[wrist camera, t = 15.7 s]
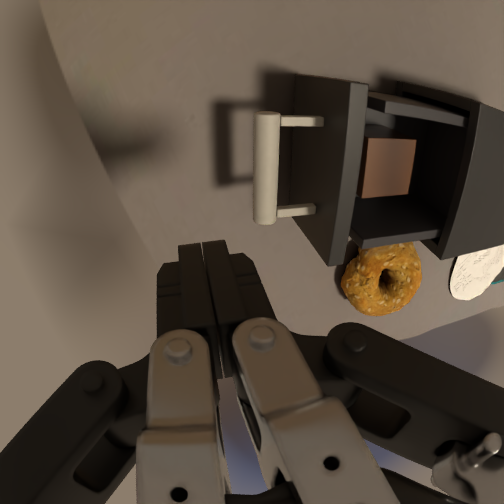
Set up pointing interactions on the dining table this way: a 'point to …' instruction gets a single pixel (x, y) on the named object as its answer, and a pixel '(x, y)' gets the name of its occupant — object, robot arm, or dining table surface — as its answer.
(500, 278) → the knife
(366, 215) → the drawer
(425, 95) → the cabinet
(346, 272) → the bagel
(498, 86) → the dining table surface
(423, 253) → the dining table surface
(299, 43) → the dining table surface
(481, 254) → the plaque
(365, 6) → the dining table surface
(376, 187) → the block
